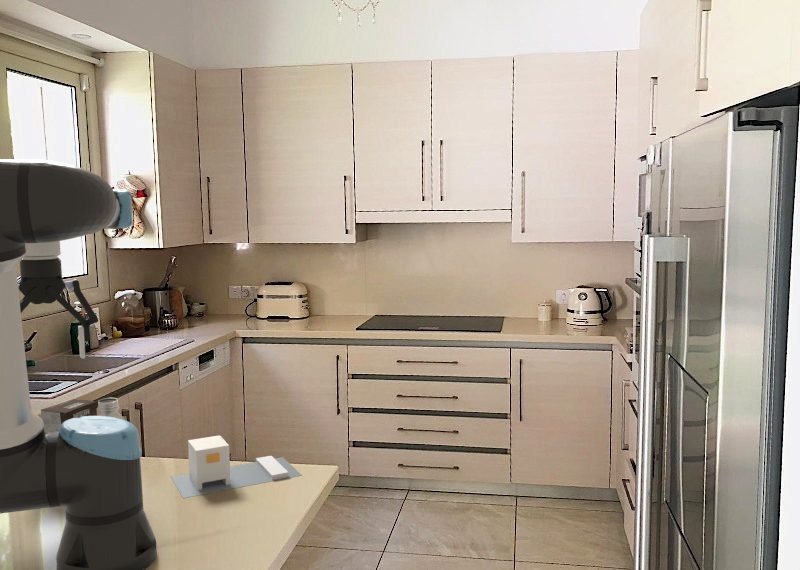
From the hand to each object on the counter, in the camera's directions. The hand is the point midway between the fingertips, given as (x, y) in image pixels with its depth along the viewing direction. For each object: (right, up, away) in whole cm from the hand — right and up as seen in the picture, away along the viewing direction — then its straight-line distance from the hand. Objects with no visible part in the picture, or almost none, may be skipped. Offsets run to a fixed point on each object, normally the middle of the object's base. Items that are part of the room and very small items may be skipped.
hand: (46, 361), depth 153 cm
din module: (+34, -24, -2) cm, 42 cm away
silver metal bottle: (+17, -26, -8) cm, 32 cm away
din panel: (+39, -25, 0) cm, 46 cm away
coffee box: (+4, -25, +3) cm, 26 cm away
